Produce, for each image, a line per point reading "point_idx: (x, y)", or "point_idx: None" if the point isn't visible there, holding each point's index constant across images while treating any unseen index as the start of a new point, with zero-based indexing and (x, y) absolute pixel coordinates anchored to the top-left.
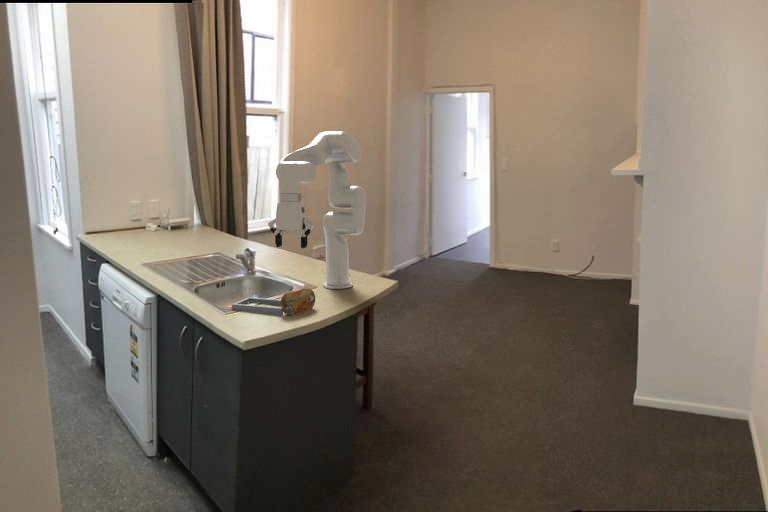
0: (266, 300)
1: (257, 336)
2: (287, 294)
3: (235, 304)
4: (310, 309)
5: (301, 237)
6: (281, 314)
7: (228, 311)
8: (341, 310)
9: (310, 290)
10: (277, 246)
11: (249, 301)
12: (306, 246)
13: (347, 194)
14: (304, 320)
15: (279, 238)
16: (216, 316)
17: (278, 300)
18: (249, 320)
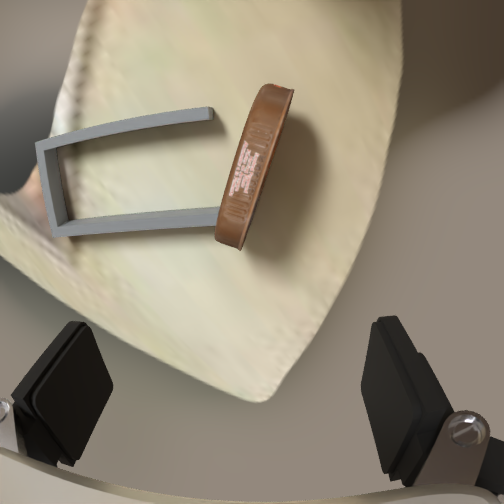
0: (98, 136)
1: (272, 383)
2: (237, 236)
3: (60, 234)
4: (284, 122)
5: (392, 474)
6: None
7: None
8: (390, 94)
9: (283, 105)
10: (108, 388)
11: (50, 149)
12: (395, 321)
13: None
14: (324, 243)
15: (71, 419)
16: (71, 286)
17: (141, 128)
18: (167, 293)
